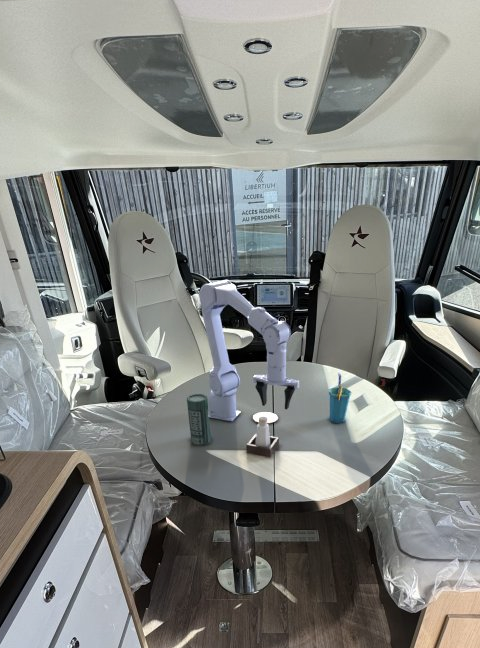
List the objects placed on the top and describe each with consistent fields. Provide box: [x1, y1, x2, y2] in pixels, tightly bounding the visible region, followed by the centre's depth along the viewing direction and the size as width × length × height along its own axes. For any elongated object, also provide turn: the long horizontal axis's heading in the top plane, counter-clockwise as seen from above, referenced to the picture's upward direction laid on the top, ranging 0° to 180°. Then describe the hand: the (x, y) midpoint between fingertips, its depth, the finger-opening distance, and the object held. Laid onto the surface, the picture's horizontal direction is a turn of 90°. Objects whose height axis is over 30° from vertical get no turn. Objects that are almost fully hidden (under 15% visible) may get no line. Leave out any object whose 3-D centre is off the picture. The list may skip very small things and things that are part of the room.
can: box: [186, 393, 212, 446], centre depth 140 cm, size 6×6×15 cm
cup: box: [328, 372, 352, 424], centre depth 154 cm, size 14×8×15 cm, turn 179°
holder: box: [245, 433, 280, 458], centre depth 139 cm, size 8×8×3 cm
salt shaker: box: [255, 416, 271, 448], centre depth 137 cm, size 5×5×11 cm
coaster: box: [252, 411, 279, 425], centre depth 158 cm, size 9×9×1 cm
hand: (275, 406), depth 142 cm, fingers open, 7 cm apart
